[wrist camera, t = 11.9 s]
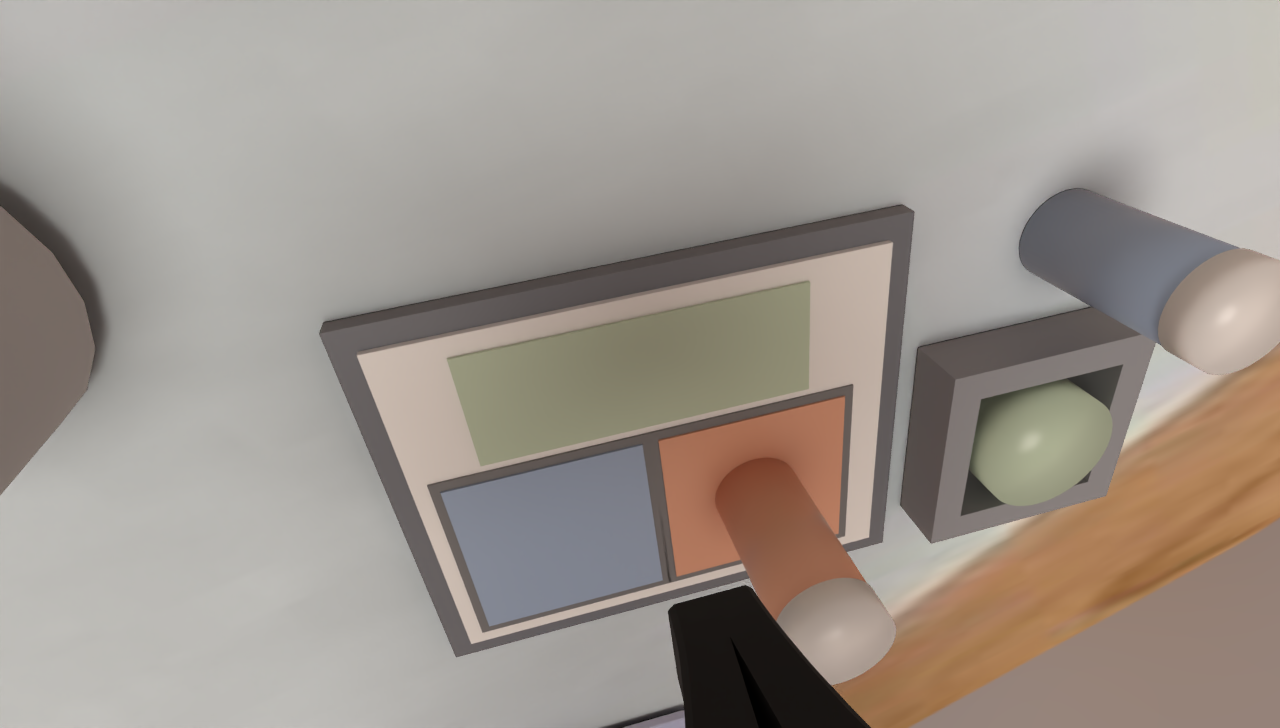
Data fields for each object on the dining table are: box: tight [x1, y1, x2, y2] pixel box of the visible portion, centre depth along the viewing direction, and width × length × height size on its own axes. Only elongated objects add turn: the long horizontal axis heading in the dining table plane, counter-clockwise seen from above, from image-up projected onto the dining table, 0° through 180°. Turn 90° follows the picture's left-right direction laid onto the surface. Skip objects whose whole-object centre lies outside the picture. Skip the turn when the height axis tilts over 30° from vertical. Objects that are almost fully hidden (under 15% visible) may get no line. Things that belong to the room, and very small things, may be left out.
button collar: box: [901, 307, 1156, 544], centre depth 24 cm, size 7×7×2 cm
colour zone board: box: [319, 205, 914, 657], centre depth 22 cm, size 13×16×1 cm
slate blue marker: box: [1019, 189, 1280, 375], centre depth 19 cm, size 3×3×6 cm
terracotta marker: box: [715, 458, 896, 685], centre depth 20 cm, size 3×3×6 cm
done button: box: [969, 378, 1113, 506], centre depth 23 cm, size 4×4×2 cm
